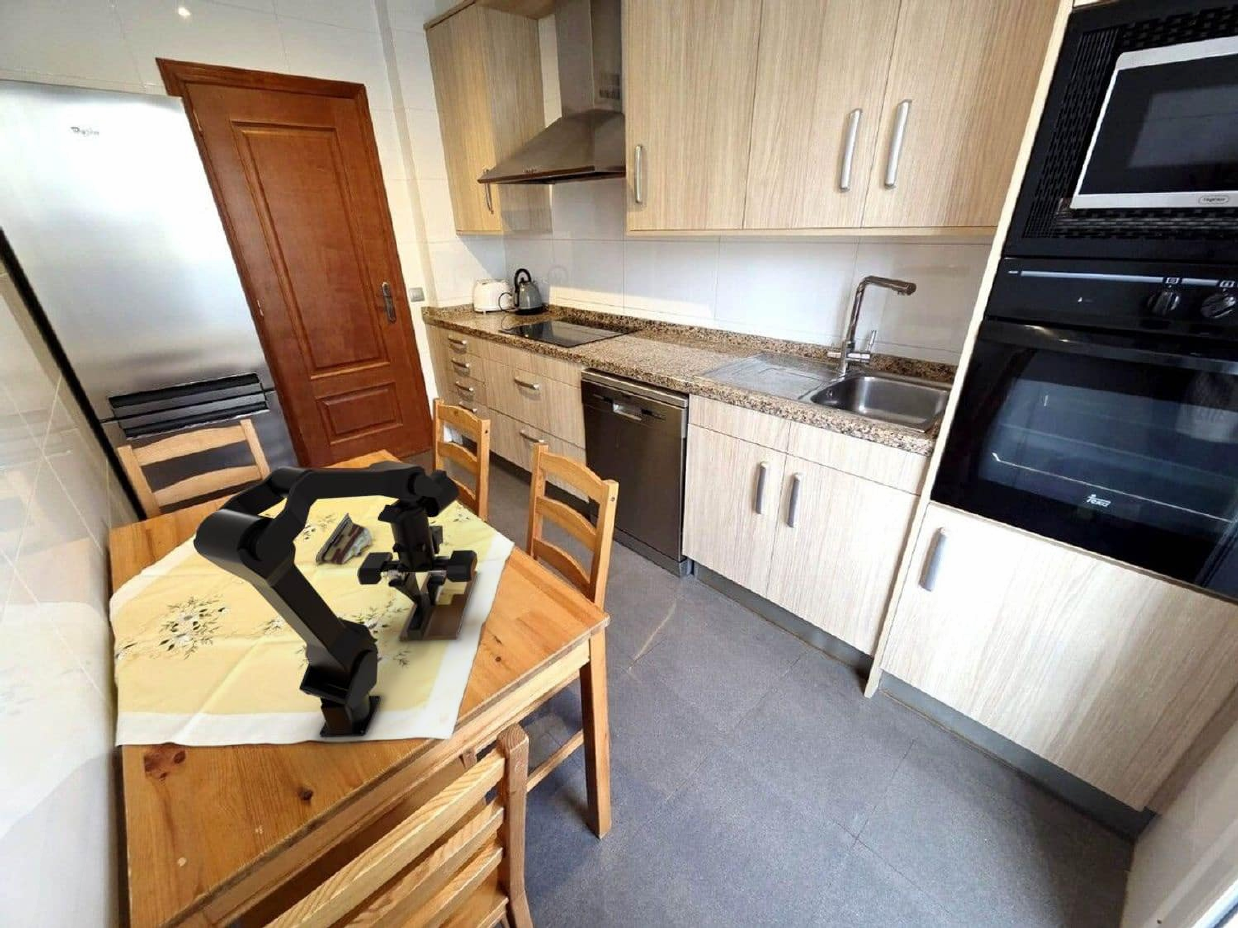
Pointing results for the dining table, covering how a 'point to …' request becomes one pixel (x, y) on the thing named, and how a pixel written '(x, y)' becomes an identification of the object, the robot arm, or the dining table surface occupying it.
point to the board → (443, 615)
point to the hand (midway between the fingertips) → (427, 604)
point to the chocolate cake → (344, 542)
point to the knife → (421, 617)
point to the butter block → (445, 599)
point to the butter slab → (453, 587)
